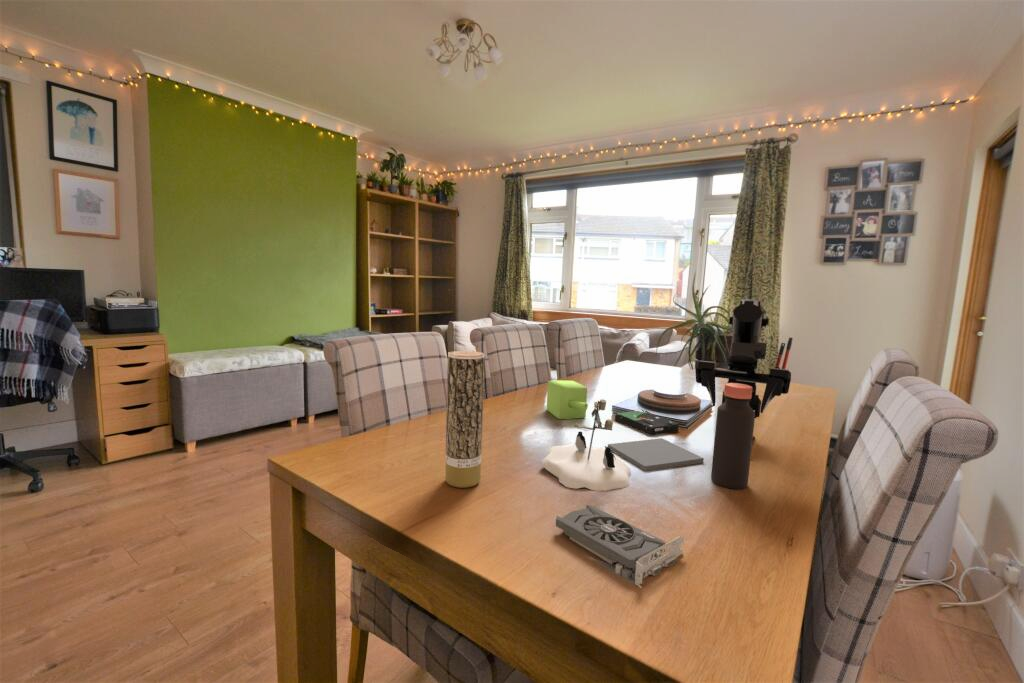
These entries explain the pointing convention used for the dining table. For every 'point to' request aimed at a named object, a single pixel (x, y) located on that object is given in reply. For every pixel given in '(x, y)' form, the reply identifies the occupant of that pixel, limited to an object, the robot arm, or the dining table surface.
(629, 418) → the disk drive
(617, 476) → the figurine
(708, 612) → the dining table surface
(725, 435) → the brown bottle
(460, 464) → the paper tube
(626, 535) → the graphics card
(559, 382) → the gearbox
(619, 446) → the mat
